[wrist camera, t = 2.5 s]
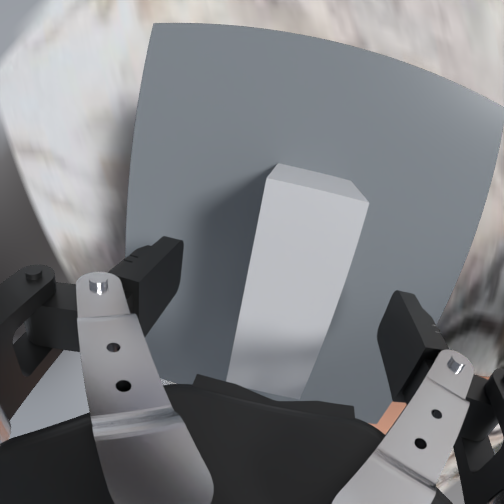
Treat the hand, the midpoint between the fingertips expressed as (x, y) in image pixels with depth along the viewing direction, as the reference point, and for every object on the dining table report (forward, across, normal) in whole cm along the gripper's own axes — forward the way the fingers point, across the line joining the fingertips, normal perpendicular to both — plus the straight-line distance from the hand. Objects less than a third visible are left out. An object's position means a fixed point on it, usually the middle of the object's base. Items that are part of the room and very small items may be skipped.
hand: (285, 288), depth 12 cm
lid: (+4, 0, 0) cm, 4 cm away
